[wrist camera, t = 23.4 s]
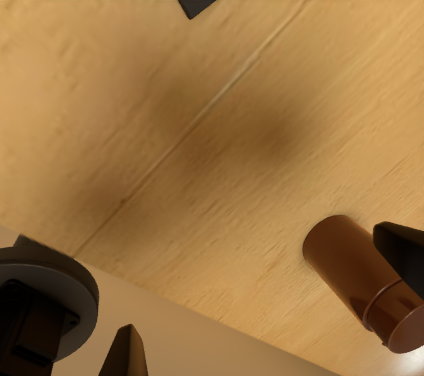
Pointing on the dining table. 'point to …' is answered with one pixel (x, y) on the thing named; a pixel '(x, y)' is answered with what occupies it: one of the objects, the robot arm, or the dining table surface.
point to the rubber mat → (194, 6)
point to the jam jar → (366, 283)
